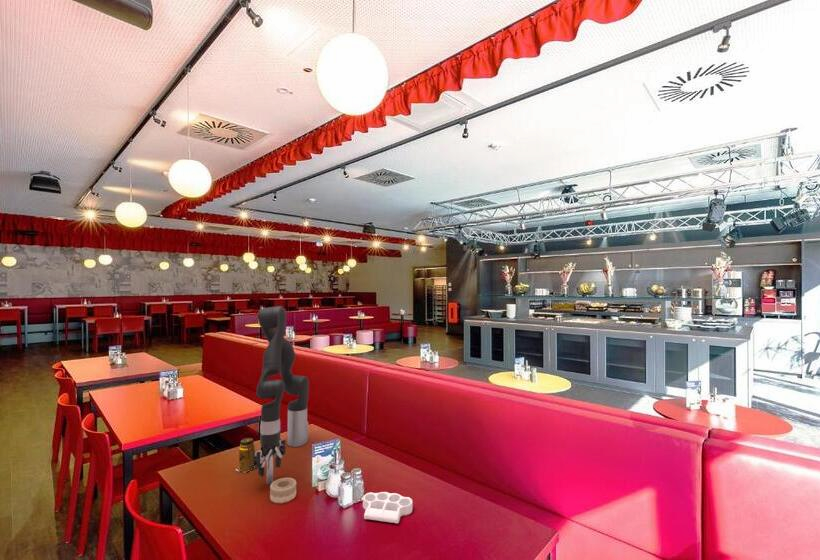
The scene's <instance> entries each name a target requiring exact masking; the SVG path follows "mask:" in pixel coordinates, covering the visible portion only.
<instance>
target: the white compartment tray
mask: <svg viewBox="0 0 820 560" xmlns="http://www.w3.org/2000/svg"><path fill="white" fill-rule="evenodd" d="M413 503H414V502H413V499H412V498H410V497H409V496H403V495H401V494H399V493H396V492H392V493H390V492H388V491H380V492H371V491H370V492H367V493H365V494H364V495H363V496H362V508H363V509H364V510H365V511H364V514H363V519H364V520H372V521H379V522H385V523H394V524H399V523H400V520H401V517H402V516H408V515H410V514H411V513H413Z"/></svg>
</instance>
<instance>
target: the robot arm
mask: <svg viewBox="0 0 820 560" xmlns="http://www.w3.org/2000/svg"><path fill="white" fill-rule="evenodd" d="M257 320H258V323H259V325H260V328H261V330H262V332H263V334H264V336H265V338H266V340H267V341H268V345H267V347H266V348H265V349H264V352H263V354H262V355H263V356H262V369H261V375H260V377H259V381H258V383H257V386H256V391H255V393H256V395H257V397H258V398H259V399H260V400H263V399H264V400H266V399H274V400H272V401H270V402H268V403H264V404H263V405H262V406H261V409H260V416H261V417H260V427H259V429H260V431H259V434H260V435H259V439H260V440H259V443H260V449H259V450H254V460H253V466H255V467H256V469H257V468H258V470H257V475H259V477H261V478H262V477H264V476H265V464H266V463H267V460H268V458H269V457H270V456H272V455H273V456H275V458H274V461H275V462H274V463H275V468H278V469H280V468H281V465H282V458H283V456H284V455H286V450H287V449H286V444H287V446H289V447H292V448H293V447H294V448H296V447H297V448H298V447H302V446H304V445H306V444H307V442H308V441H309V421H308V403H309V390H310V389H309V388H310V380H309V378H308V377H307V376H306V375H295V374H293V372H292V368H293V365H294V363H295V361H296V357H297V355H296V352H295V349H294V347H293V344H292V343H291V342H290V341H289V340H288V339H287V338H286V337H285V333H286V327H287V312H286V309H285V308H284V307H283V306H281V305H279V306H272V307H271V306H269V307H264V308H261V309H259V310H258V313H257ZM279 374H280V376H281V379H269V378H270V377H273V376H276V375H279ZM284 392H285V393H286V394H287V395H291V396H297V399H294V400H291V401H290V402H288V404H287V440H286V439H283V438H281V419H280V417H281V413H280V412H281V403H282V399H283V396H284ZM286 441H287V442H286Z"/></svg>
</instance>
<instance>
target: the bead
mask: <svg viewBox="0 0 820 560" xmlns="http://www.w3.org/2000/svg"><path fill="white" fill-rule="evenodd" d="M296 496H297V481H296V479H295V478H292V477H282V478H278V479H275V480H273V482H272V484H269V499H270V502H272V503H274V504H284V503H288V502H290V501H292V500H294V499H295V497H296Z"/></svg>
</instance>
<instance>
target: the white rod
mask: <svg viewBox="0 0 820 560" xmlns="http://www.w3.org/2000/svg"><path fill="white" fill-rule="evenodd" d="M272 482H274V455H272V456H270V457H269V458H268V460H267V461H266V484H267V485H271V484H272Z"/></svg>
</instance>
